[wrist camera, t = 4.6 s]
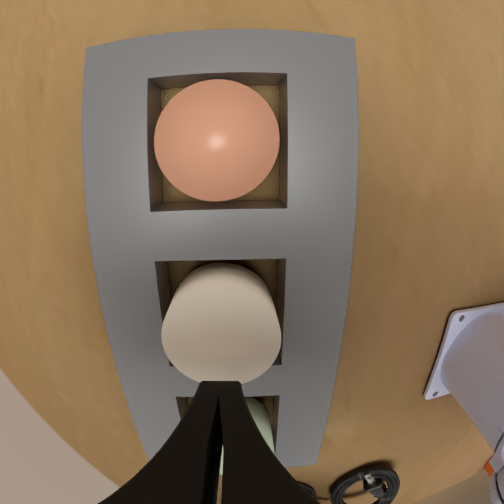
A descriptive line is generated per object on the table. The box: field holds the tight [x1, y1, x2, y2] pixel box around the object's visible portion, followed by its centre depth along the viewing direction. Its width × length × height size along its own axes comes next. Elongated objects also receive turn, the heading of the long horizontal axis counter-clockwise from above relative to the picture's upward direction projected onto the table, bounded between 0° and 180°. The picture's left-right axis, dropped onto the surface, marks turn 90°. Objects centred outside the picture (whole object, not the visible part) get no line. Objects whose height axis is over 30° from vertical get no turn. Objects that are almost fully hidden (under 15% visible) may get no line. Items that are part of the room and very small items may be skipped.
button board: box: [82, 29, 358, 468], centre depth 16 cm, size 12×26×2 cm, turn 0°
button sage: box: [219, 397, 274, 475], centre depth 16 cm, size 5×5×3 cm
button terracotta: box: [154, 79, 280, 201], centre depth 13 cm, size 5×5×3 cm
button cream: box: [161, 263, 281, 384], centre depth 14 cm, size 5×5×3 cm
